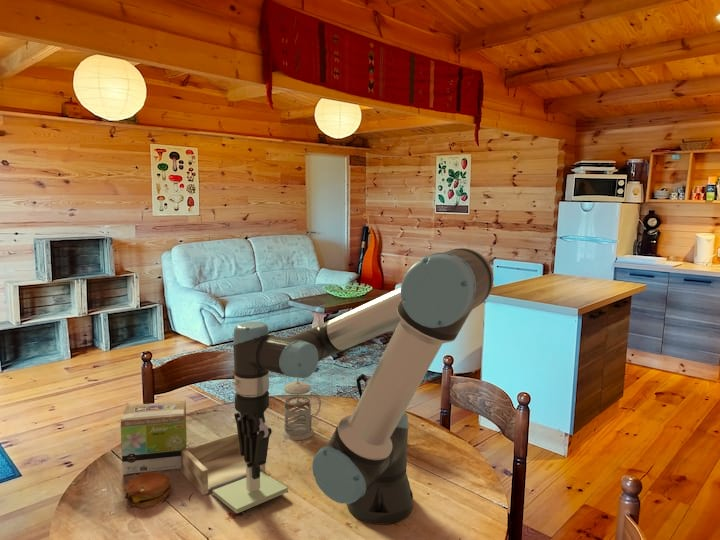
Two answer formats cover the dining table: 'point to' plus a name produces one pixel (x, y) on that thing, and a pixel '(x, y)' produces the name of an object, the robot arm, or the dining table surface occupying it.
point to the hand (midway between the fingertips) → (253, 488)
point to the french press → (298, 412)
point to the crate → (214, 462)
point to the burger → (148, 489)
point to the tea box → (153, 436)
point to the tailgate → (247, 492)
